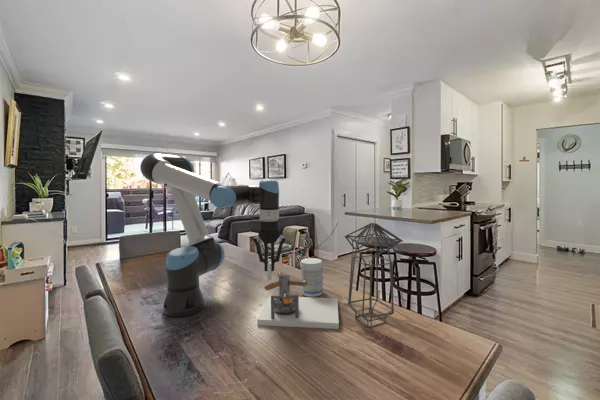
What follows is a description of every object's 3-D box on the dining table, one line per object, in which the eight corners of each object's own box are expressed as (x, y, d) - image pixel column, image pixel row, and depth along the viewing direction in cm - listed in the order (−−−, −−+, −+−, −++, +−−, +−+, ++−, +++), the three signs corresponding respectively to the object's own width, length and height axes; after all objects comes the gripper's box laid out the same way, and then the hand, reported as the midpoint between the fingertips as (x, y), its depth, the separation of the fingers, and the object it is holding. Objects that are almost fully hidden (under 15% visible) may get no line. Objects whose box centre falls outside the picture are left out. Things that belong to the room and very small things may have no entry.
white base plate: (257, 325, 98) (256, 295, 98) (269, 300, 118) (269, 275, 118) (338, 329, 95) (338, 298, 95) (337, 303, 115) (337, 277, 114)
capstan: (260, 299, 114) (260, 270, 113) (299, 295, 118) (298, 267, 117) (266, 317, 99) (265, 285, 98) (309, 312, 103) (309, 280, 102)
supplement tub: (327, 294, 124) (327, 261, 123) (309, 299, 119) (309, 265, 118) (313, 287, 132) (313, 256, 131) (296, 292, 127) (296, 259, 126)
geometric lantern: (340, 314, 106) (341, 221, 104) (374, 308, 112) (376, 219, 110) (366, 335, 91) (368, 227, 89) (404, 326, 97) (406, 224, 96)
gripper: (251, 221, 106) (252, 282, 108) (286, 221, 107) (286, 282, 109) (253, 218, 114) (253, 275, 116) (285, 218, 115) (285, 275, 117)
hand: (269, 278), depth 113 cm, fingers closed
